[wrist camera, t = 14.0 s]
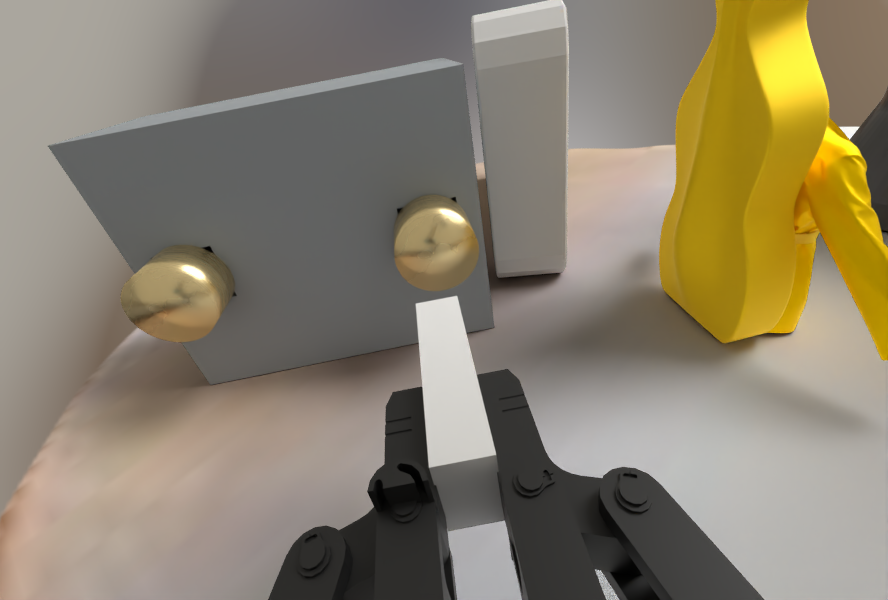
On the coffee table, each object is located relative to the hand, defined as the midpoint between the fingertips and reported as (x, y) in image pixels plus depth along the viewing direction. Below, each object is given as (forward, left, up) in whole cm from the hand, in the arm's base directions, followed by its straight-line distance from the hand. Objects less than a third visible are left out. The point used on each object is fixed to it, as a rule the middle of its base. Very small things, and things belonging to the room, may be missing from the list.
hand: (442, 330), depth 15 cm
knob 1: (+14, -11, -3) cm, 18 cm away
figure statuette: (-17, -7, -9) cm, 21 cm away
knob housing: (+7, -14, -8) cm, 18 cm away
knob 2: (0, -11, -3) cm, 12 cm away
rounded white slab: (-10, -28, -9) cm, 31 cm away
